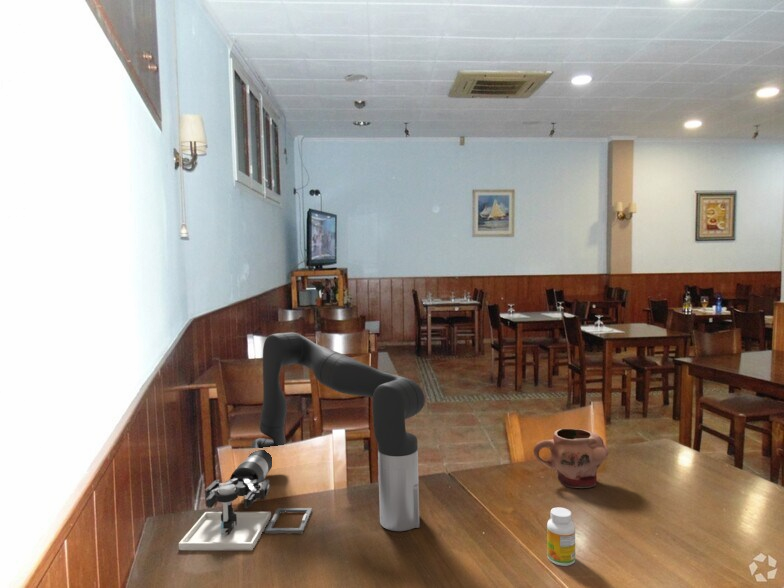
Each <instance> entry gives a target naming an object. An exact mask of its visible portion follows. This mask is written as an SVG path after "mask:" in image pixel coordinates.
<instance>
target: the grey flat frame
mask: <svg viewBox="0 0 784 588" xmlns="http://www.w3.org/2000/svg"><path fill="white" fill-rule="evenodd" d="M285 511H286V512H306V513H303V517H302V519H301V523H300V526H299V527H274V526H275V524H276V523H275V522H277V521H278V519H279V517H280V515H281V513H280V512H285ZM311 511H312V512H313V508H312V507H288V508H287V507H277V508H276V510H275V512H274V514H273V515H272V516H271V519H270V521H269V522H268V524H267V526H266V528H265V529H264V534H265V535H269V534H271V535H275V534H276V533H277V535H279V534H278V533H303V534H304V532H305V529H306V527H307V525H308V522H309V520H308V519H310V517H311V515H312V513H311ZM279 514H280V515H279ZM310 514H311V515H310ZM278 516H279V517H278ZM309 516H310V517H309ZM277 518H278V519H277ZM276 520H277V521H276ZM307 521H308V522H307ZM306 524H307V525H306ZM305 526H306V527H305ZM303 531H304V532H303ZM266 533H267V534H266ZM268 533H269V534H268Z"/></svg>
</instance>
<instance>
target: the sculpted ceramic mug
mask: <svg viewBox="0 0 784 588" xmlns="http://www.w3.org/2000/svg"><path fill="white" fill-rule="evenodd" d="M544 448H547V449H549V450H550V458H548V460H543V459H542V458H541V457H540V452H541V450H542V449H544ZM533 455H534V457H535V459H537V461H539V463H542V465H544V466H545V467H547V468H548V469H550V470H551V471H556V473H557V480H558V481H559V482H560V483H561V484H562V485H563V486H566V487H569V488H575V489H576V488H577V489H578V488H579V489H585V488H586V489H588V488H593V487H595V486H596V485H597V483H598V480H597V471H598V468H599V467H600V466H601V465H602V463H603V462H604V460H606V459H607V457H609V455H610V450H609V448H608V446H606V445H605V444H604V439H603V438H602V437H601V436H600V435H599V434H598V433H596V432H592V431H589V430H587V429H586V430H585V429H577V428H560V429H557V430H555V431H554V432H553V437H552V439H544V440H540V441H538V442H537V443H535V446H534V447H533Z"/></svg>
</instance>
